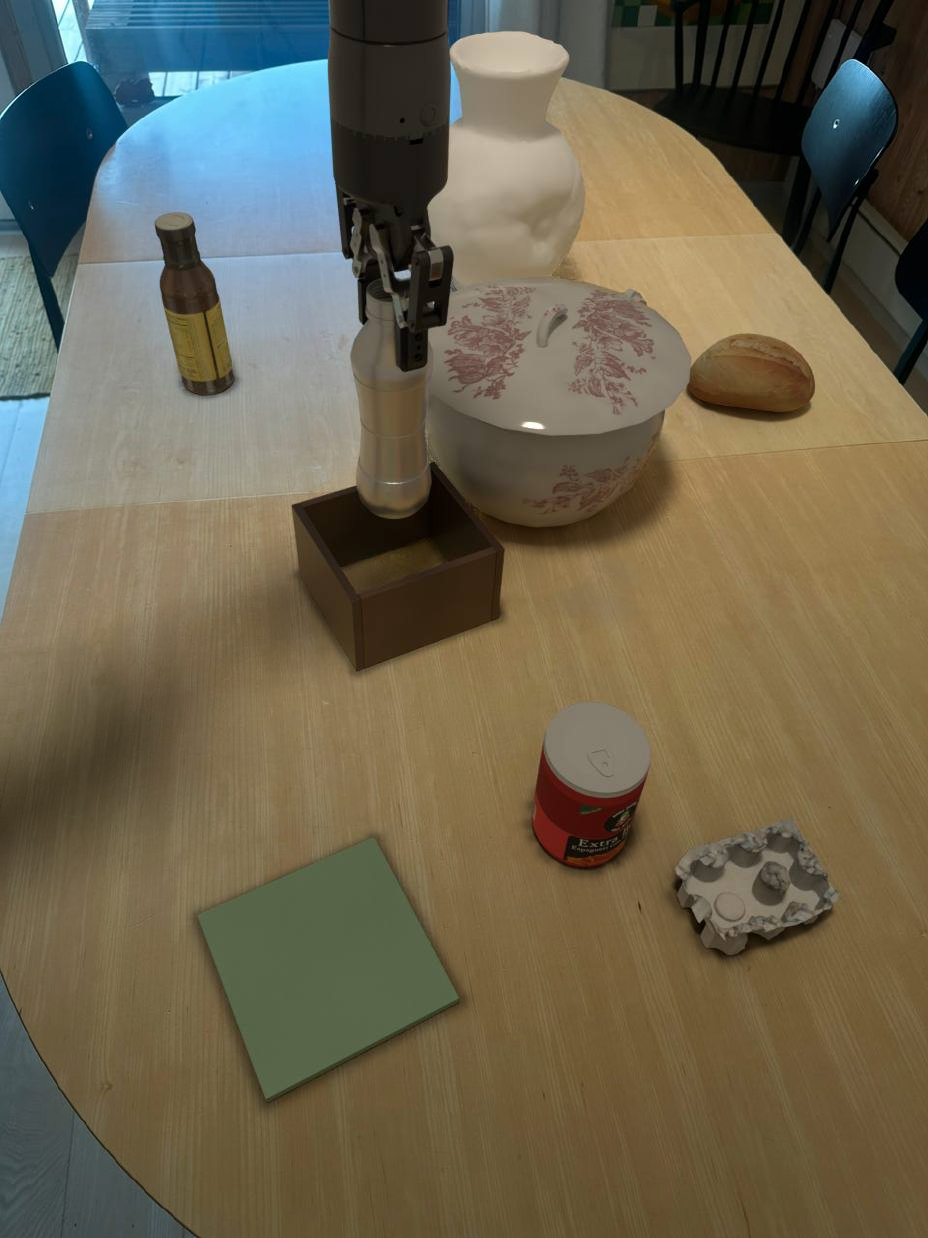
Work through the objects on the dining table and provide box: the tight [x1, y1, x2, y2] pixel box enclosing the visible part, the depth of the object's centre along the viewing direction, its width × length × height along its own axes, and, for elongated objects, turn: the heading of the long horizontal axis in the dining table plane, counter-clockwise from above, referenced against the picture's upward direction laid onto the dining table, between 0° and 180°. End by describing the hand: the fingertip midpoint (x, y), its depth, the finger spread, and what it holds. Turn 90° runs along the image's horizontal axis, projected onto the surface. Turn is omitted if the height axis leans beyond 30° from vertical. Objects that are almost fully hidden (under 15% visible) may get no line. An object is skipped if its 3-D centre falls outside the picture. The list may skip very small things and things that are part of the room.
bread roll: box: [687, 332, 816, 413], centre depth 114 cm, size 10×15×8 cm, turn 80°
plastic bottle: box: [349, 277, 434, 519], centre depth 77 cm, size 6×7×20 cm
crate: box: [291, 461, 506, 672], centre depth 90 cm, size 15×14×9 cm
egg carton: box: [674, 817, 841, 956], centre depth 72 cm, size 11×8×4 cm
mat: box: [196, 836, 460, 1104], centre depth 68 cm, size 14×14×1 cm
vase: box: [427, 30, 586, 291], centre depth 122 cm, size 19×21×30 cm
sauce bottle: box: [154, 211, 234, 396], centre depth 108 cm, size 6×6×20 cm
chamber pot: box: [425, 276, 692, 529], centre depth 98 cm, size 28×28×21 cm
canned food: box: [531, 701, 652, 868], centre depth 73 cm, size 8×8×11 cm
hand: (392, 344), depth 73 cm, fingers closed on plastic bottle, 6 cm apart
